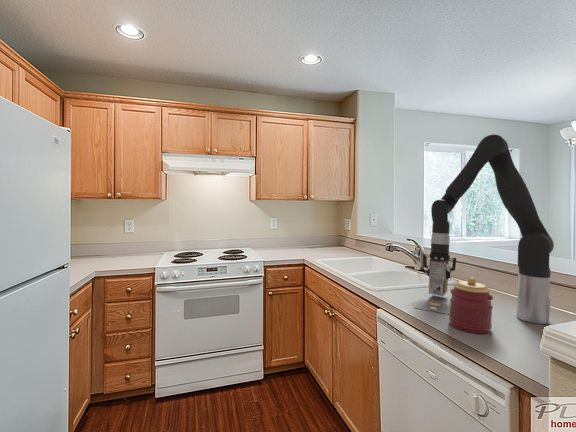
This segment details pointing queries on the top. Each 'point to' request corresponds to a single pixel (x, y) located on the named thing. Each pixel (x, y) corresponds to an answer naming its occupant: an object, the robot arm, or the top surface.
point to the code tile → (433, 306)
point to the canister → (471, 307)
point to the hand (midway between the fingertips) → (438, 277)
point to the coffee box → (438, 277)
